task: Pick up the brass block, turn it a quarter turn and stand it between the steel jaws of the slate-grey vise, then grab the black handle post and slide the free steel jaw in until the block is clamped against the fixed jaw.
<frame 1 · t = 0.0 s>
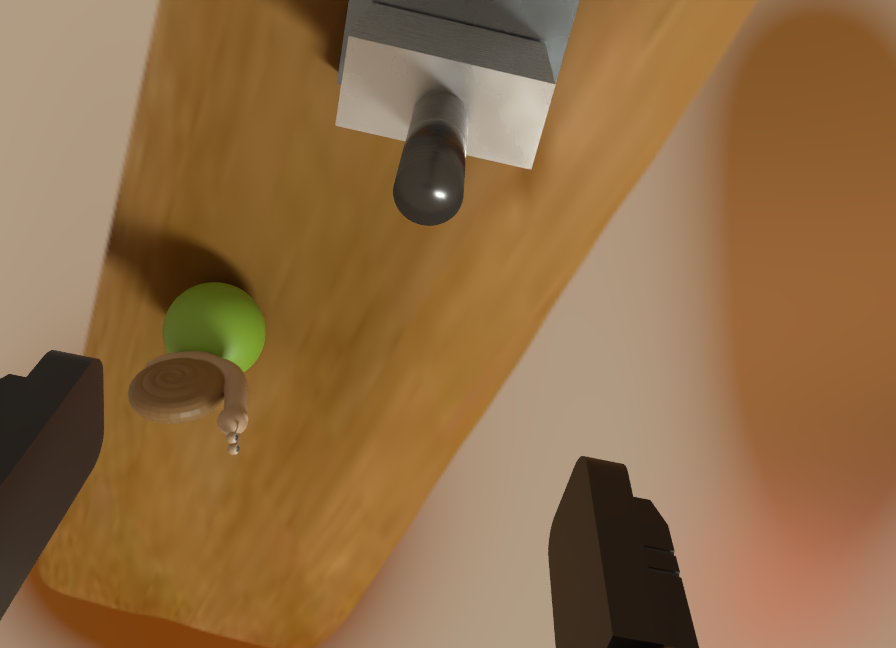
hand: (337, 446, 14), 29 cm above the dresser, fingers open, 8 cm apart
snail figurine: (238, 305, 47), on the dresser
free jaw: (442, 108, 31), point 9 cm above the dresser, slide at 0.0 cm
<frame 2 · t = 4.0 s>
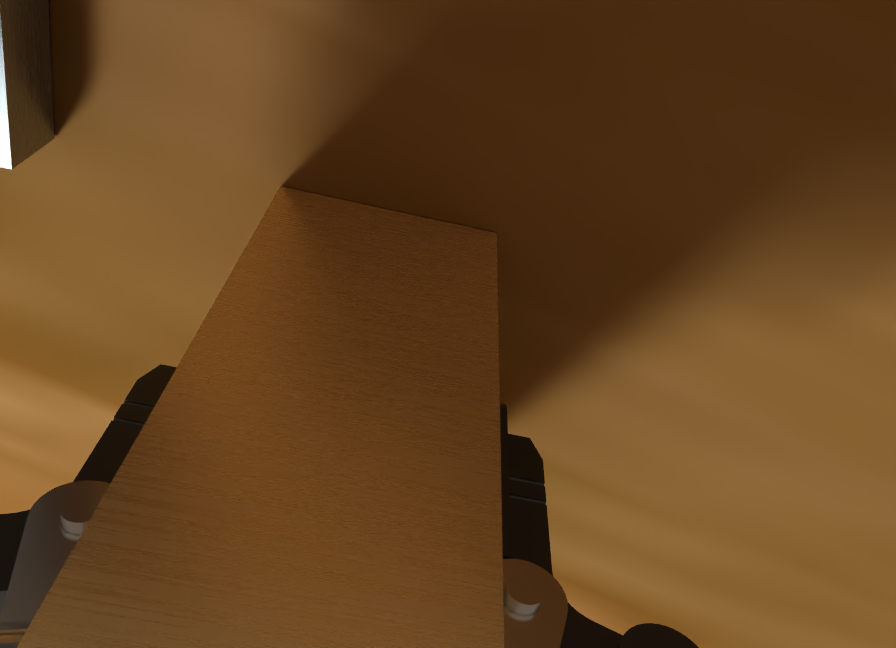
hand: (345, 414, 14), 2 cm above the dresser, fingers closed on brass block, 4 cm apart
brass block: (363, 344, 16), on the dresser, touching gripper
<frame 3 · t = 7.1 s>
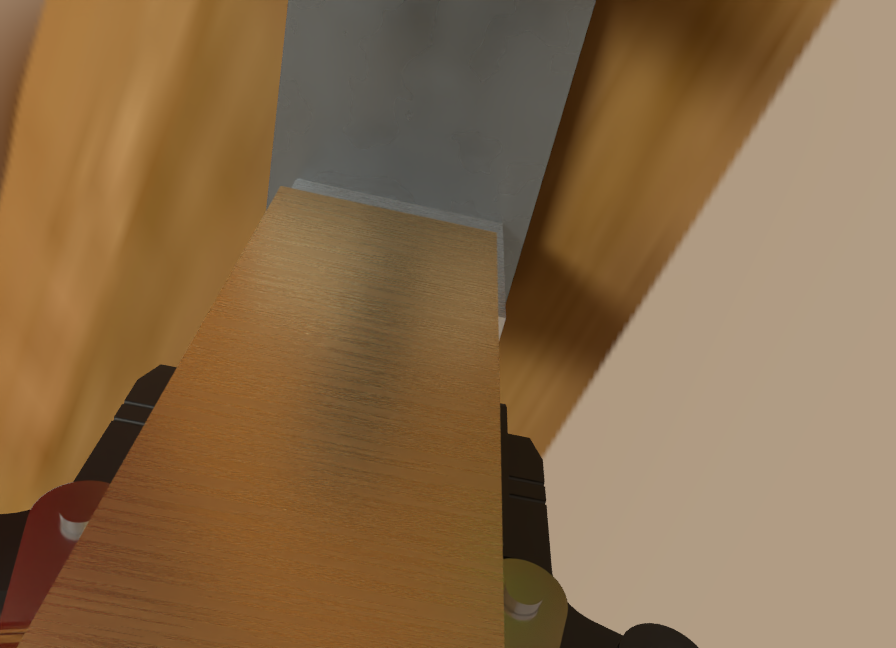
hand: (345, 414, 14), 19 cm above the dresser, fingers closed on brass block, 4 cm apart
brass block: (363, 343, 16), point 17 cm above the dresser, touching gripper
vise: (433, 39, 29), on the dresser
when the fingers open (5 cm above the dresser, at t = 10.0 s): brass block stays where it is, resting on vise.
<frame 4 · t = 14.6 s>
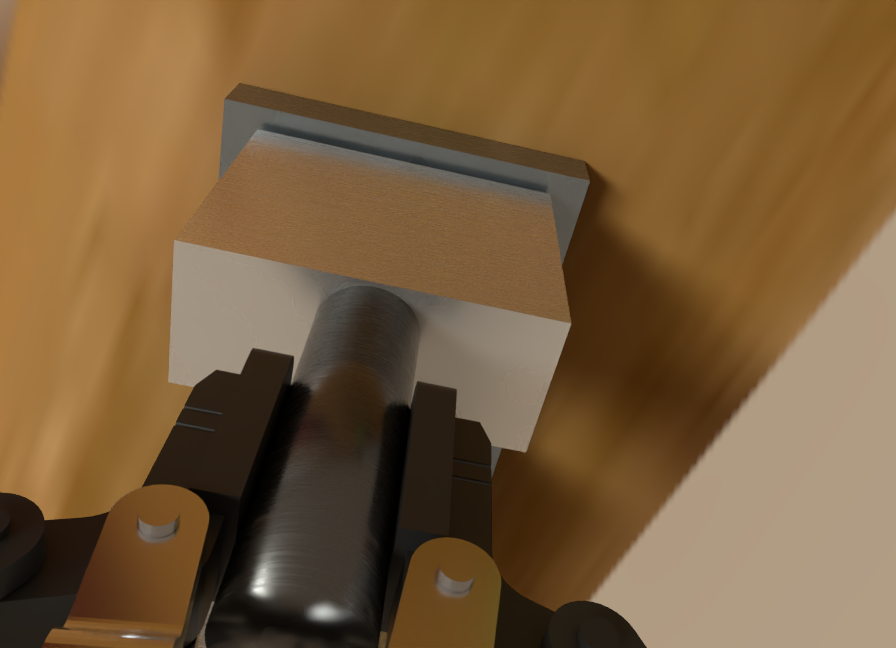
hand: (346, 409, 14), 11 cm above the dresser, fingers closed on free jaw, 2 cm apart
vise: (363, 380, 28), on the dresser
free jaw: (360, 364, 17), point 9 cm above the dresser, slide at 0.0 cm, touching gripper
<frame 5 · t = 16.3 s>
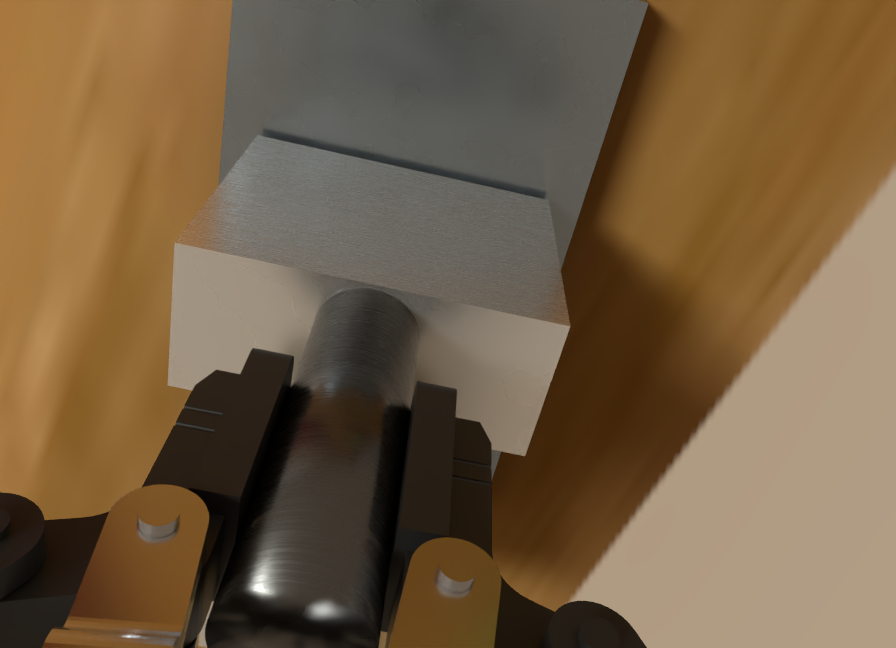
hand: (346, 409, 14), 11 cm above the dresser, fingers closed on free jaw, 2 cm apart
vise: (386, 263, 25), on the dresser
free jaw: (359, 367, 17), point 9 cm above the dresser, slide at 4.9 cm, touching gripper
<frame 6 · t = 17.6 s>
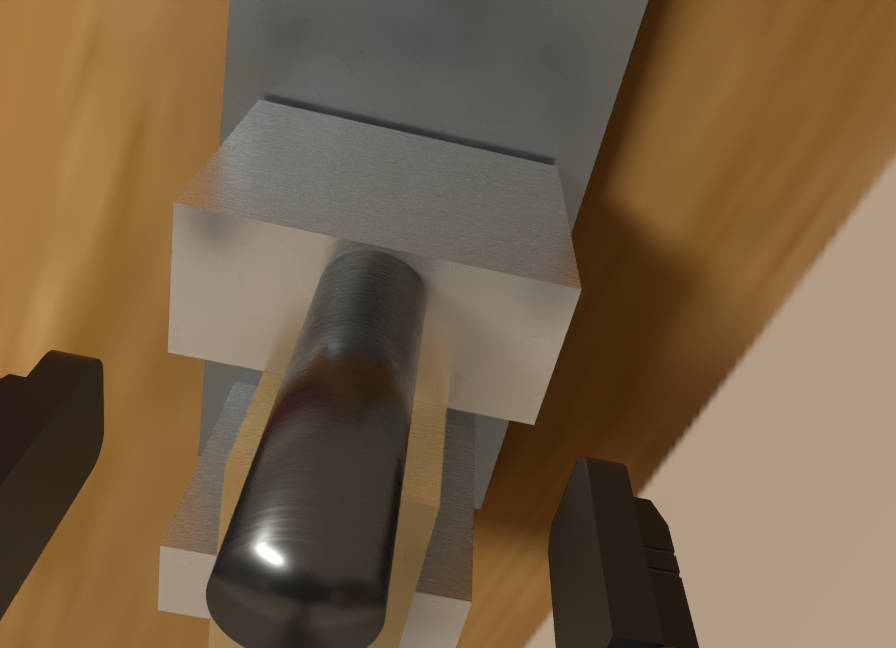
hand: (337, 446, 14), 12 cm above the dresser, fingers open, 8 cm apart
brass block: (372, 330, 25), point 1 cm above the dresser, touching vise
vise: (392, 230, 25), on the dresser
free jaw: (364, 332, 16), point 9 cm above the dresser, slide at 5.0 cm
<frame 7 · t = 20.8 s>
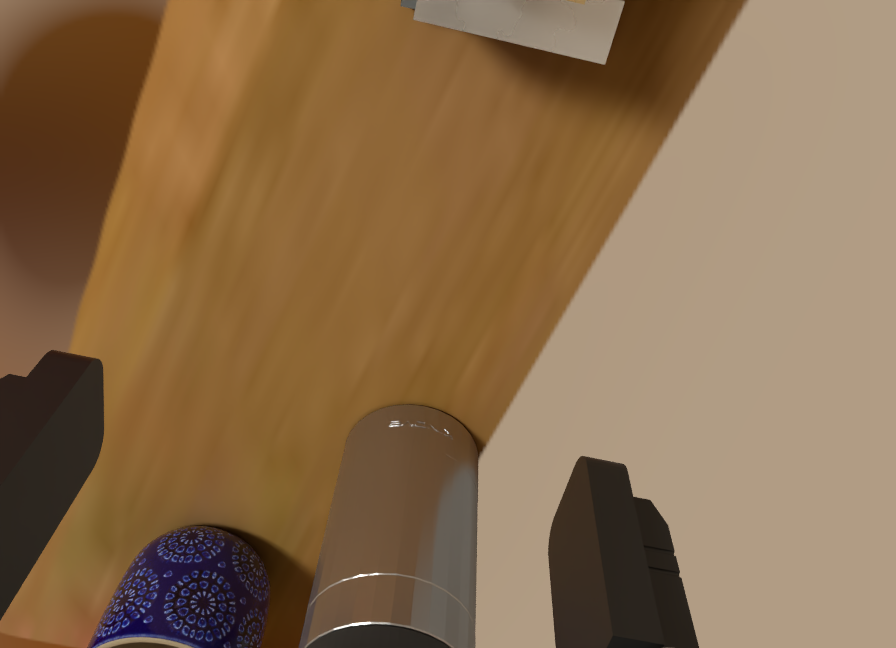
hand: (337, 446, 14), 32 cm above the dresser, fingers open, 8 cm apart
planter: (211, 556, 62), on the dresser
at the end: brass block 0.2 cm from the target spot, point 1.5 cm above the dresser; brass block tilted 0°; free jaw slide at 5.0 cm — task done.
